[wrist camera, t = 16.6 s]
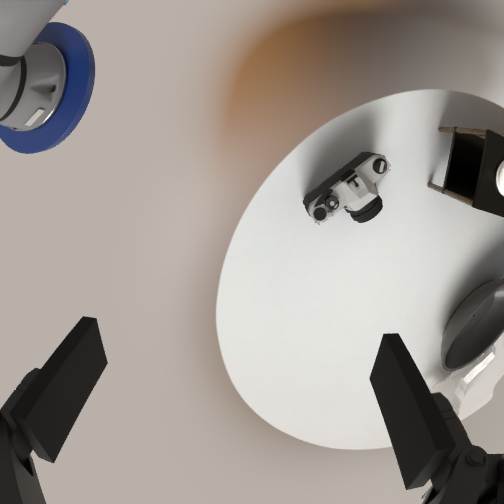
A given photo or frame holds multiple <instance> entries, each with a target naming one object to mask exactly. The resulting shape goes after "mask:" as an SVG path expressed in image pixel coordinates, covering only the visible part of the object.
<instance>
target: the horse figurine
mask: <svg viewBox="0 0 504 504" xmlns="http://www.w3.org/2000/svg"><path fill="white" fill-rule="evenodd" d="M494 357H495V346H494V345H492V346H491V347H490V348H489V349H488V350H487V351H485V352H484V355H482V356H481V357H480V358H478V359H477V360H475V361H474V362H472V363H470V364H469V365H467V366H465V367H463V368H462V369H461V370H460V371H458V372H457V373H456V374H454V376H453V377H451V378H450V379H448V380H444V381H442V382H441V383H439V384H437V385H435V386H434V387H432V389H431V390H430V392H431V393H437V392H441V393H442V394H443V395H444V396H445V397H446V398H447V399H448V400H449V402H450V403H451V405H452V407H453V411H455V413H456V415H457V416H458V412H459V408H460V403H461V401H462V399H463V397H464V396H465V393H466V390H467V387H468V385H467V384H468V383H469V382H470V381H471V380H472V379H473V378H474V377H475V376H476V375H477V373H479V372H480V371H481V370H482V369H483V368H485V367H486V365H487V364H488V363H489V362H490V361H491V360H492V359H493V358H494Z"/></svg>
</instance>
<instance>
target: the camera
mask: <svg viewBox="0 0 504 504" xmlns="http://www.w3.org/2000/svg"><path fill="white" fill-rule="evenodd" d="M390 166H391V165H390V164H389V162H388V161H387V159H386V157H385V156H384V155H381V154H375V153H371V152H361V153H360V154H358V155H357V156H356V157H355V158H353V159H352V160H351V161H349V162H348V163H347V164H345V165H344V166H343V167H342V168H340V169H339V170H338V171H336V172H335V173H334V174H332V175H331V176H330V177H329V178H327V179H326V180H325V181H323V182H322V183H321V184H320V185H318V186H317V187H316V188H314V189H313V190H312V191H311V192H309V193H308V194H307V195H305V197H304V201H303V204H304V205H305V208H306V210H307V212H308V214H309V216H311V217H312V218H313V219H314V221H315V223H318V225H320V222H325V221H326V220H327V219H328V218H330V217H332V216H333V215H334V214H335V213H336V212H338V211H339V210H340V209H341V208H344V209H345V210H346V211H347V212H348V213H350V215H351V217H352V218H353V220H354V221H358V222H359V223H364V222H367V221H369V220H371V219H372V218H374V217H375V216H376V215H377V214H378V213H379V212H380V211H381V209H382V207H383V205H382V199H381V198H380V196H379V195H378V190H377V188H376V186H375V184H374V183H375V182H376V181H378V180H379V179H380V178H381V177H383V176H384V175H385V174H387V173H388V171H390V169H389V168H390Z"/></svg>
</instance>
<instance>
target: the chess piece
mask: <svg viewBox="0 0 504 504" xmlns="http://www.w3.org/2000/svg"><path fill="white" fill-rule="evenodd" d="M496 183H497V187H498V190H499V192H500V193H501V194H502V195H503V196H504V161H503V162H502V163H501V164H500V166H499V168H498V170H497V175H496Z"/></svg>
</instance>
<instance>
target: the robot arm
mask: <svg viewBox="0 0 504 504" xmlns="http://www.w3.org/2000/svg"><path fill="white" fill-rule="evenodd" d="M67 3H68V0H0V125H3V126H7V127H8V128H10V129H12V130H15V131H32V130H36V129H38V128H40V127H42V126H43V125H45V124H46V123H47V122H48V121H49V120H50V119H51V118H52V117H53V116H54V115H55V113H56V112H57V110H58V109H59V107H60V105H61V103H62V101H63V98H64V96H65V93H66V89H67V84H68V64H67V60H66V58H65V55H64V54H63V52H62V51H61V50H60V49H59V48H58V47H57V46H55V45H53V44H50V43H46V42H33V41H34V40H35V39H36V37H37V36H38V35H39V33H40V32H41V31H42V30H43V28H44V27H45V26H46V25H47V23H48V22H49V21H50V20H51V19H52V17H53V16H54V15H55V14H56V13H57V11H58V10H59V9H60V8H61V7H62V6H63V5H66V4H67ZM107 363H108V362H107V359H106V355H105V351H104V348H103V344H102V340H101V336H100V332H99V328H98V323H97V319H96V318H90V317H84V316H83V317H82V318H81V319H80V321H79V322H78V323H77V324H76V326H75V327H74V328H73V329H72V330H71V331H70V333H69V334H68V335H67V336H66V338H65V339H64V340H63V341H62V343H61V344H60V345H59V346H58V348H57V349H56V350H55V352H54V353H53V354H52V355H51V357H50V358H49V359H48V361H47V362H46V363H45V364H44V366H43V367H42V368H41V369H38V368H35V369H33V370H32V371H31V372H29V373H28V374H27V375H26V376H25V377H24V378H23V380H22V381H21V384H19V385H18V386H17V388H16V390H14V392H13V393H12V394H11V396H10V397H9V398H8V400H7V401H6V402H5V404H4V405H3V407H2V408H1V409H0V504H46V502H45V499H44V496H43V493H42V490H41V487H40V483H39V480H38V477H37V473H36V470H35V466H34V463H33V459H32V457H31V455H30V453H31V452H32V450H34V451H35V453H36V454H37V456H38V457H39V458H41V459H44V460H46V461H49V462H51V463H54V462H55V460H56V458H57V456H58V454H59V452H60V450H61V448H62V446H63V444H64V442H65V440H66V438H67V436H68V434H69V432H70V431H71V429H72V427H73V425H74V423H75V421H76V419H77V417H78V415H79V413H80V412H81V410H82V408H83V406H84V404H85V403H86V401H87V399H88V397H89V395H90V393H91V391H92V390H93V388H94V386H95V385H96V383H97V381H98V379H99V378H100V376H101V374H102V372H103V371H104V369H105V367H106V365H107ZM369 379H370V381H371V384H372V387H373V390H374V393H375V395H376V398H377V401H378V404H379V407H380V410H381V413H382V416H383V418H384V421H385V424H386V427H387V430H388V433H389V436H390V439H391V443H392V446H393V449H394V452H395V455H396V458H397V461H398V465H399V468H400V471H401V475H402V478H403V481H404V485H405V488H406V490H408V489H413V488H418V487H421V486H424V485H425V484H426V483H427V481H428V480H429V479H431V482H432V485H433V486H431V487H430V489H429V490H428V491H427V492H426V493H425V494H424V495H423V496H422V499H424V498H425V499H424V501H423V503H422V504H504V454H487V453H486V452H485V450H483V449H482V448H481V447H479V446H474V445H472V444H471V442H470V440H469V438H468V436H467V434H466V432H465V430H464V428H463V426H462V424H461V422H460V420H459V418H457V415H456V413H455V411H453V407H452V405H451V403H450V402H449V400H448V399H447V398H446V397H445V396H444V395H443V394H442V393H441V392H437V393H431V392H430V390H429V388H428V386H427V385H426V383H425V381H424V379H423V377H422V375H421V373H420V371H419V370H418V368H417V366H416V364H415V362H414V360H413V359H412V357H411V355H410V353H409V351H408V350H407V348H406V346H405V344H404V343H403V341H402V339H401V337H400V336H399V334H398V333H393V334H383V337H382V340H381V344H380V347H379V350H378V354H377V357H376V360H375V363H374V366H373V369H372V372H371V375H370V378H369Z"/></svg>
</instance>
